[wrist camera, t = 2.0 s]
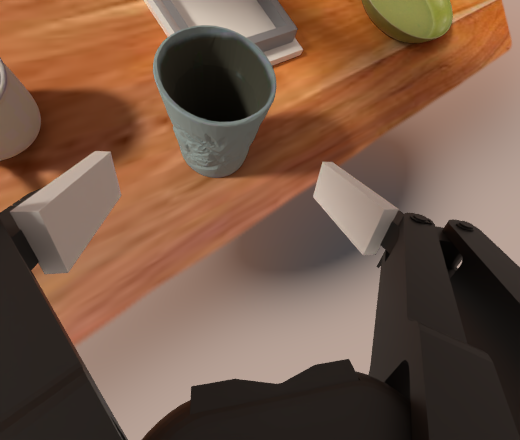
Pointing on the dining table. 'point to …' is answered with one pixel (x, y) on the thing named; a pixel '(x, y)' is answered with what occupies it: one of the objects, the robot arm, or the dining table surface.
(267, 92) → the blue-grey cup
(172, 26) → the tray
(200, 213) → the dining table surface
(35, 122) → the teacup
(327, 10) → the dining table surface
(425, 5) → the saucer
